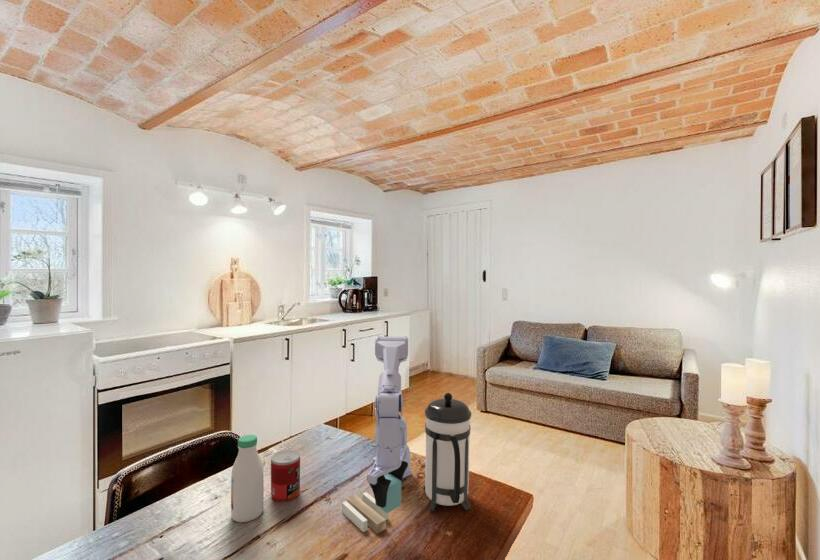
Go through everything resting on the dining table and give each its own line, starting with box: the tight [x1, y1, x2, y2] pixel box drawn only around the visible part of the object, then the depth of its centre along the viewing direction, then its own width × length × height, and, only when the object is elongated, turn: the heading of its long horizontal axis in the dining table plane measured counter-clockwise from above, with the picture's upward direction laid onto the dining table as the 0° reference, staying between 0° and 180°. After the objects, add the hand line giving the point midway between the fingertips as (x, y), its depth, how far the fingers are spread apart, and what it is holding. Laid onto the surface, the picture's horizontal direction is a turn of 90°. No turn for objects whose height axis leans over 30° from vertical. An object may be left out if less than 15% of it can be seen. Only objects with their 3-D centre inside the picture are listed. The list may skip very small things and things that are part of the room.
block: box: [375, 474, 402, 514], centre depth 92 cm, size 4×4×6 cm
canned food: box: [270, 449, 301, 503], centre depth 108 cm, size 8×8×11 cm
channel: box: [341, 491, 389, 533], centre depth 99 cm, size 8×10×2 cm
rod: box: [345, 494, 387, 534], centre depth 99 cm, size 3×14×3 cm, turn 42°
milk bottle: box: [230, 434, 265, 523], centre depth 99 cm, size 8×8×20 cm
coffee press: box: [423, 392, 472, 513], centre depth 105 cm, size 17×16×30 cm
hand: (387, 498), depth 92 cm, fingers closed on block, 6 cm apart
